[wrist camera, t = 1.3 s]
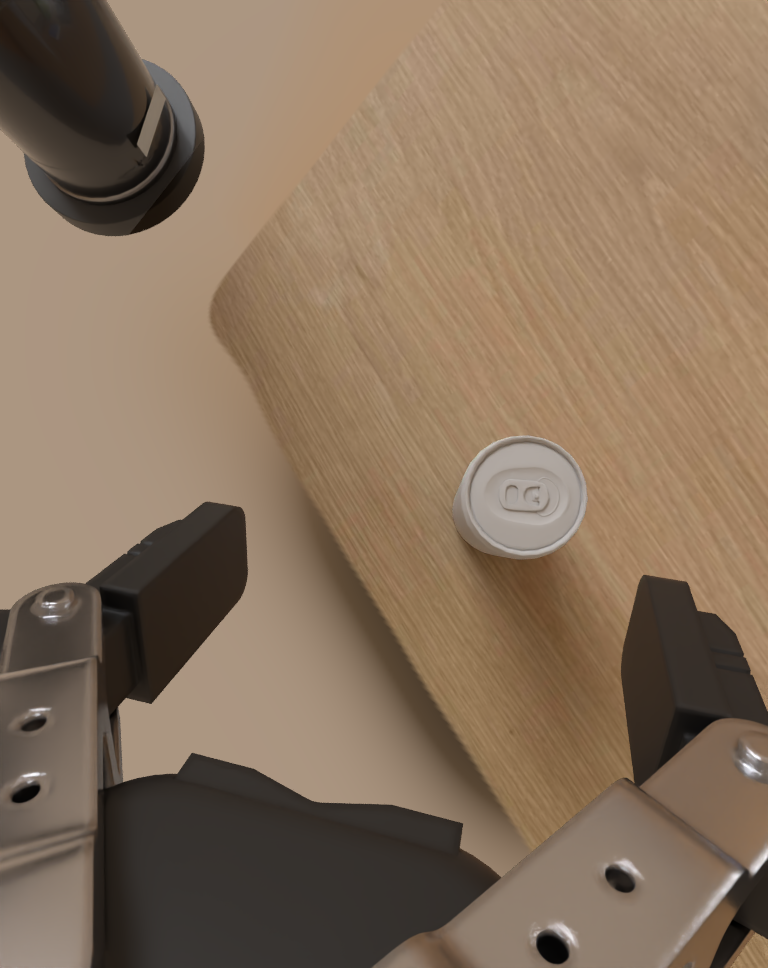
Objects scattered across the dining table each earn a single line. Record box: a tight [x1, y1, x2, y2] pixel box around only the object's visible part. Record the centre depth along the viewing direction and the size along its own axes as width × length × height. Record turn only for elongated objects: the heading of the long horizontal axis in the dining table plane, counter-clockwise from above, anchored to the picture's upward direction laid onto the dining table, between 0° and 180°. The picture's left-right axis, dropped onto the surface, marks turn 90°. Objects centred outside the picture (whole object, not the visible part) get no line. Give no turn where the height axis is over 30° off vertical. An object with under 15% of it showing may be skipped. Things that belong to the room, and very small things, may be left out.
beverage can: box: [452, 436, 588, 560], centre depth 30 cm, size 5×5×12 cm
